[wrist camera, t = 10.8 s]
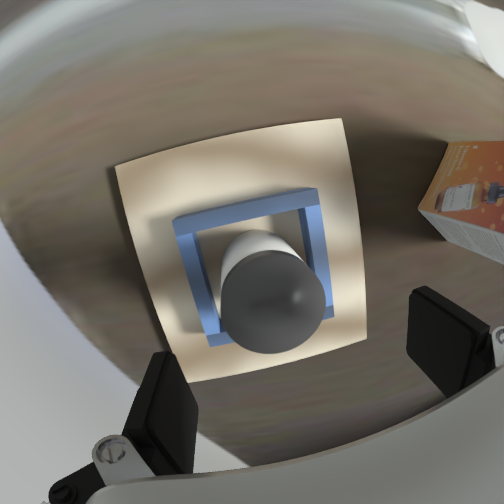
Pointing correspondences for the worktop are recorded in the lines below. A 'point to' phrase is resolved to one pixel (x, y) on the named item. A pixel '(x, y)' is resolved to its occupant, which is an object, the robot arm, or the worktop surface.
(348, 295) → the mount plate
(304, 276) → the gray domed white cylinder
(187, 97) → the worktop surface
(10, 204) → the worktop surface
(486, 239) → the small box
